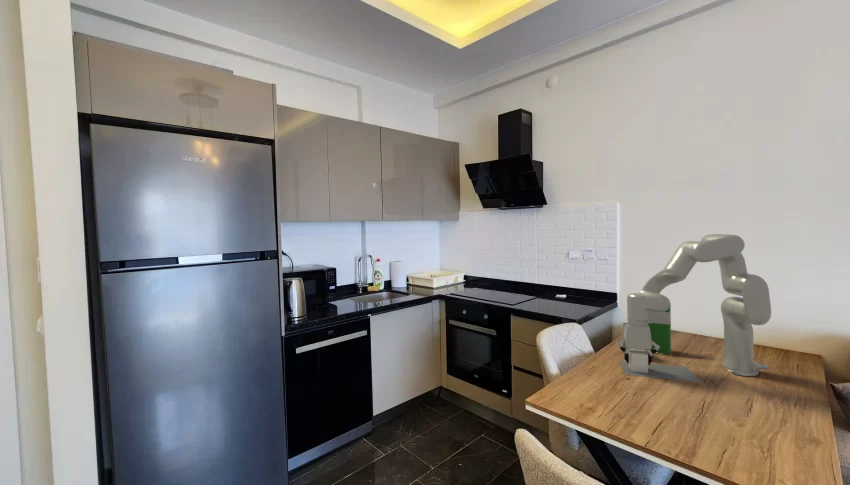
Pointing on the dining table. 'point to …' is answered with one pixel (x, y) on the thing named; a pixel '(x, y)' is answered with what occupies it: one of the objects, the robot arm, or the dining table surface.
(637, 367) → the small cream cube
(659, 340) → the hardback book
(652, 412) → the dining table surface
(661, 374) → the board
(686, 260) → the robot arm
